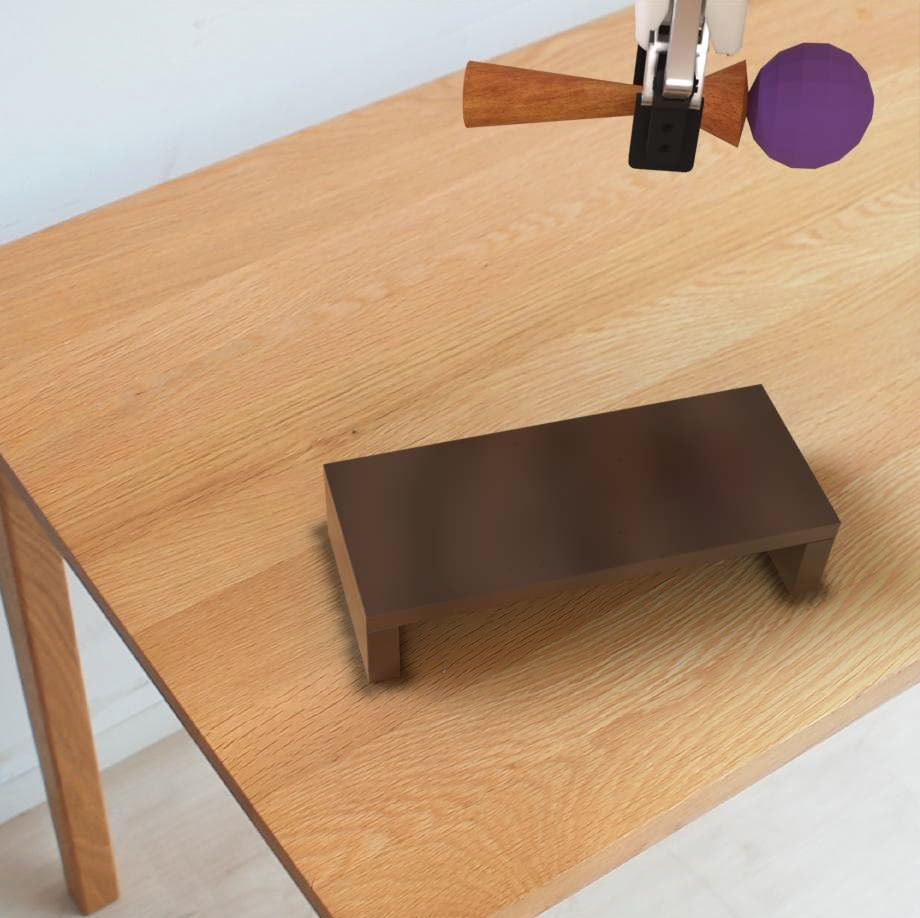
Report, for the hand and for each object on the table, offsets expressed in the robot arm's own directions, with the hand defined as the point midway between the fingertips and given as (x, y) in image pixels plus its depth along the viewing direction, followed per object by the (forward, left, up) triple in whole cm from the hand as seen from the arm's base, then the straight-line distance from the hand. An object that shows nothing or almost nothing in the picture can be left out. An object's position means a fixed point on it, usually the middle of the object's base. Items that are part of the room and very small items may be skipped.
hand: (661, 129), depth 73 cm
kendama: (0, 0, -1) cm, 1 cm away
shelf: (+3, +15, -17) cm, 23 cm away
